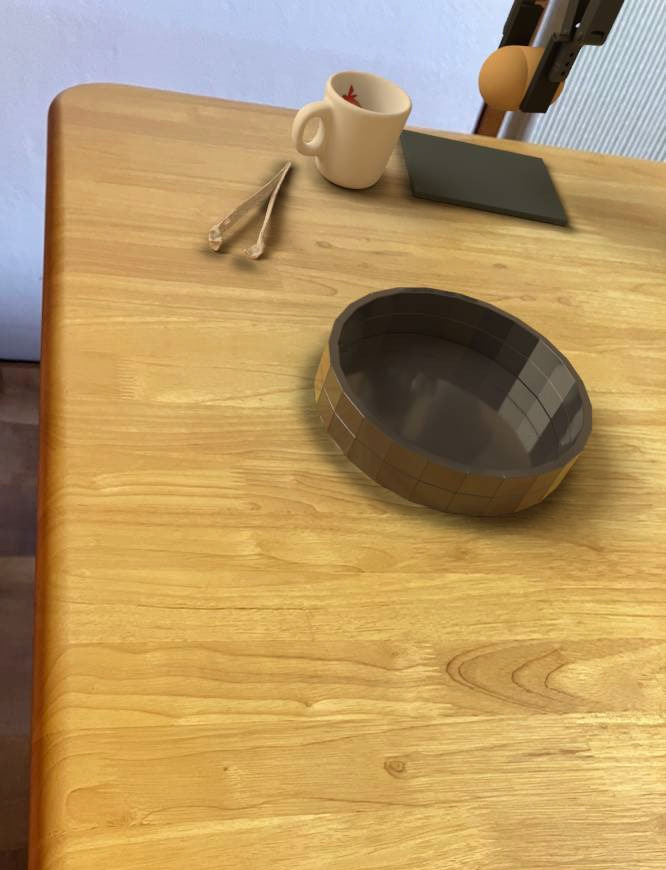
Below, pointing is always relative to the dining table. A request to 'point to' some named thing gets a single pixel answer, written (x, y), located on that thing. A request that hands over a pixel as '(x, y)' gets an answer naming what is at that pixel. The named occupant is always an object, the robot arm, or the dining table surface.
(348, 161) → the cup
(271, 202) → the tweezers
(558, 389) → the pan
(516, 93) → the potato
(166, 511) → the dining table surface
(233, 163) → the dining table surface
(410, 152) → the mat
